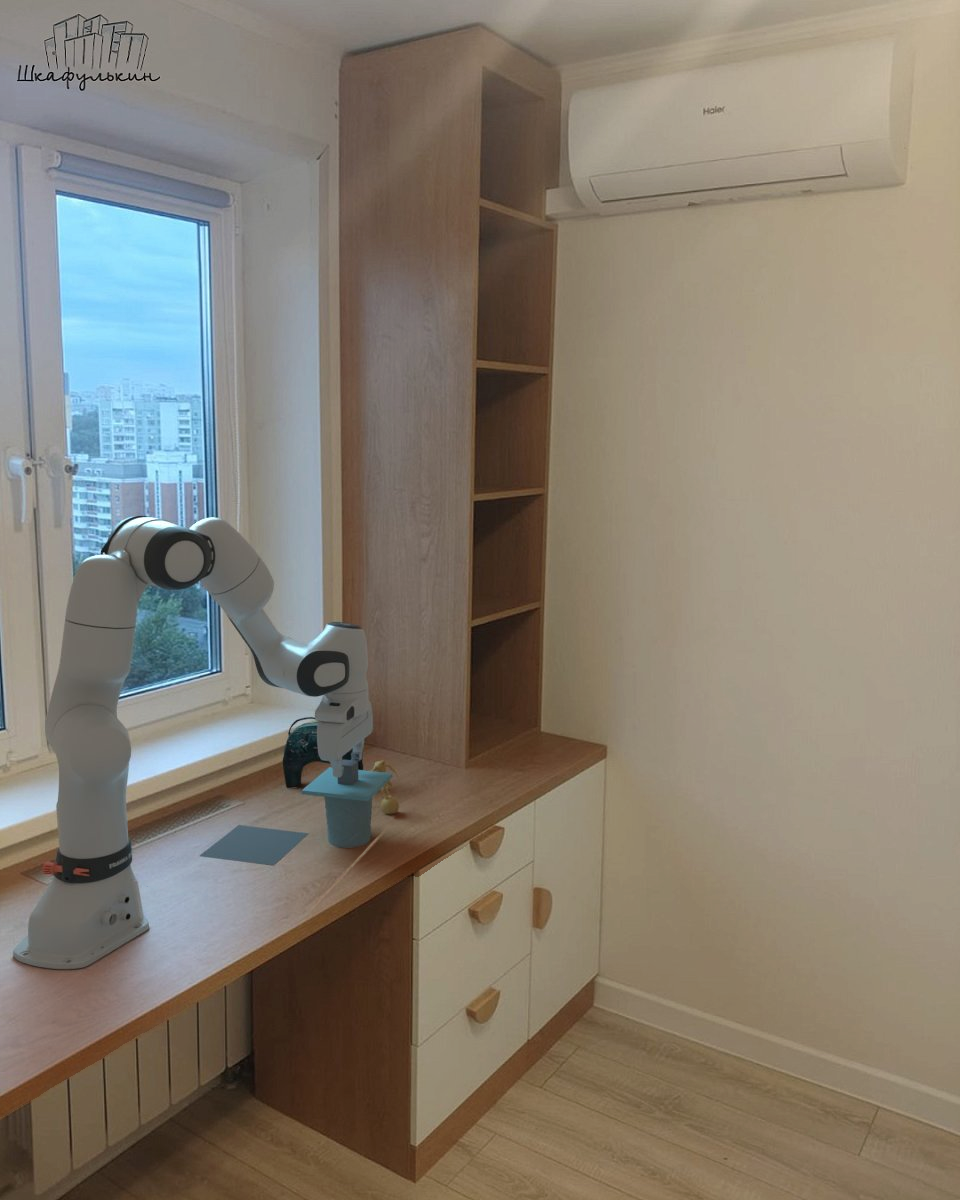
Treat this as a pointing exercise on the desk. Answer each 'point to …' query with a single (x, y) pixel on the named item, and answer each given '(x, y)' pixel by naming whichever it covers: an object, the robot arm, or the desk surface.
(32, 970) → the desk surface
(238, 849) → the mat
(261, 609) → the robot arm
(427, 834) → the desk surface
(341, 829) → the blue grey bin
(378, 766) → the figurine
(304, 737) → the ceramic cat
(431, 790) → the desk surface
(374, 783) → the lid
